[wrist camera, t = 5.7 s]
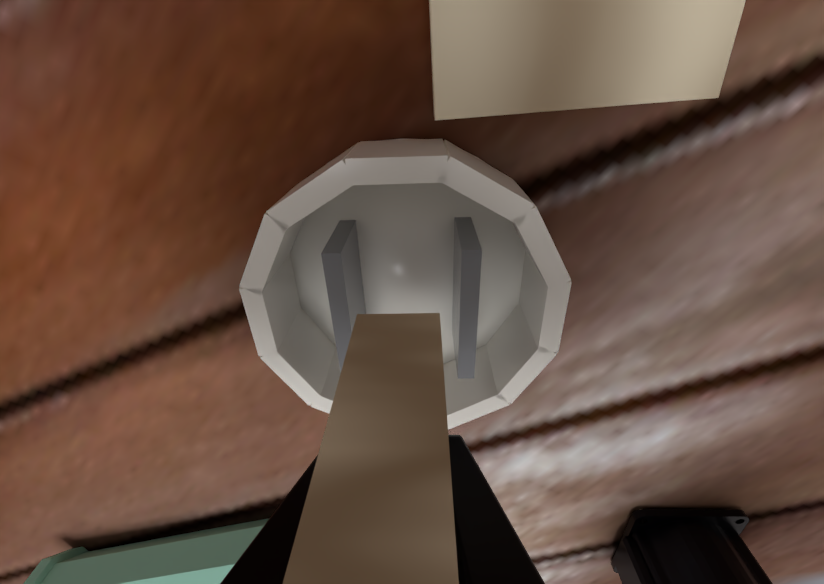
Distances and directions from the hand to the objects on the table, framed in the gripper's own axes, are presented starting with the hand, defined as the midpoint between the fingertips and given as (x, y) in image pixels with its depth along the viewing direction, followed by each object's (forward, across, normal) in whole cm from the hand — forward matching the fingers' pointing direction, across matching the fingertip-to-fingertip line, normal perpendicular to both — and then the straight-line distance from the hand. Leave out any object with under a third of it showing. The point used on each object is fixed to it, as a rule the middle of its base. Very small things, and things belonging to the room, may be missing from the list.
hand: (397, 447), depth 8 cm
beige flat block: (+9, -5, -8) cm, 13 cm away
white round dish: (+8, 0, 0) cm, 8 cm away
